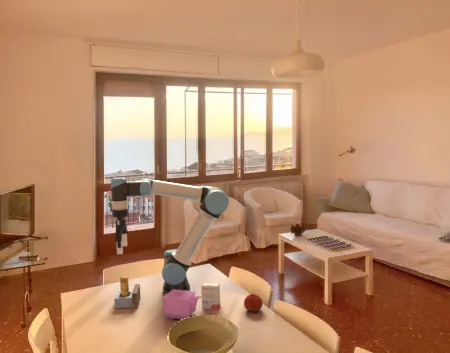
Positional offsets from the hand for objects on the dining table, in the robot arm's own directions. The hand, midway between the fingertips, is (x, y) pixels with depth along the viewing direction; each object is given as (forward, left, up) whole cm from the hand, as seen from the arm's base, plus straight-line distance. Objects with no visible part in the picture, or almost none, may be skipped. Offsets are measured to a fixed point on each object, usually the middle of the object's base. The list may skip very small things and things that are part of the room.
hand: (122, 249), depth 188 cm
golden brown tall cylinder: (0, 0, -28) cm, 28 cm away
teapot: (-30, +18, -29) cm, 45 cm away
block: (0, 0, -29) cm, 29 cm away
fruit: (-64, +17, -29) cm, 72 cm away
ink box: (-44, +10, -29) cm, 53 cm away
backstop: (-6, 0, -29) cm, 29 cm away
